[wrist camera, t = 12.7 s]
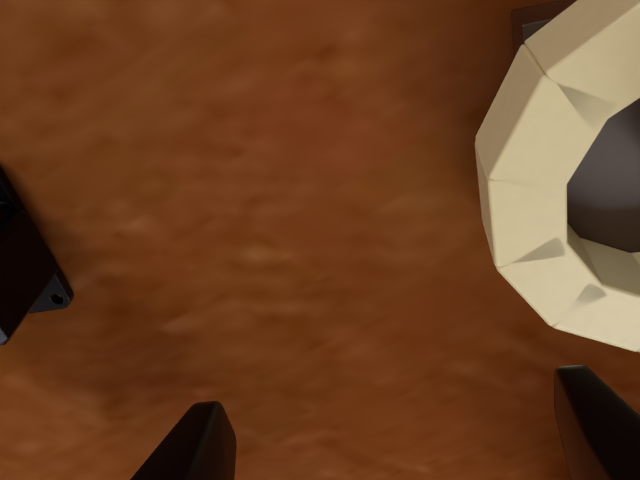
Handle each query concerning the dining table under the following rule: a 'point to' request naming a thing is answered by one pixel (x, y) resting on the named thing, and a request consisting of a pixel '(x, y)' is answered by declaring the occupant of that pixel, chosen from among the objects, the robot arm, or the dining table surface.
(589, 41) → the tape
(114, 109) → the dining table surface
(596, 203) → the stand
